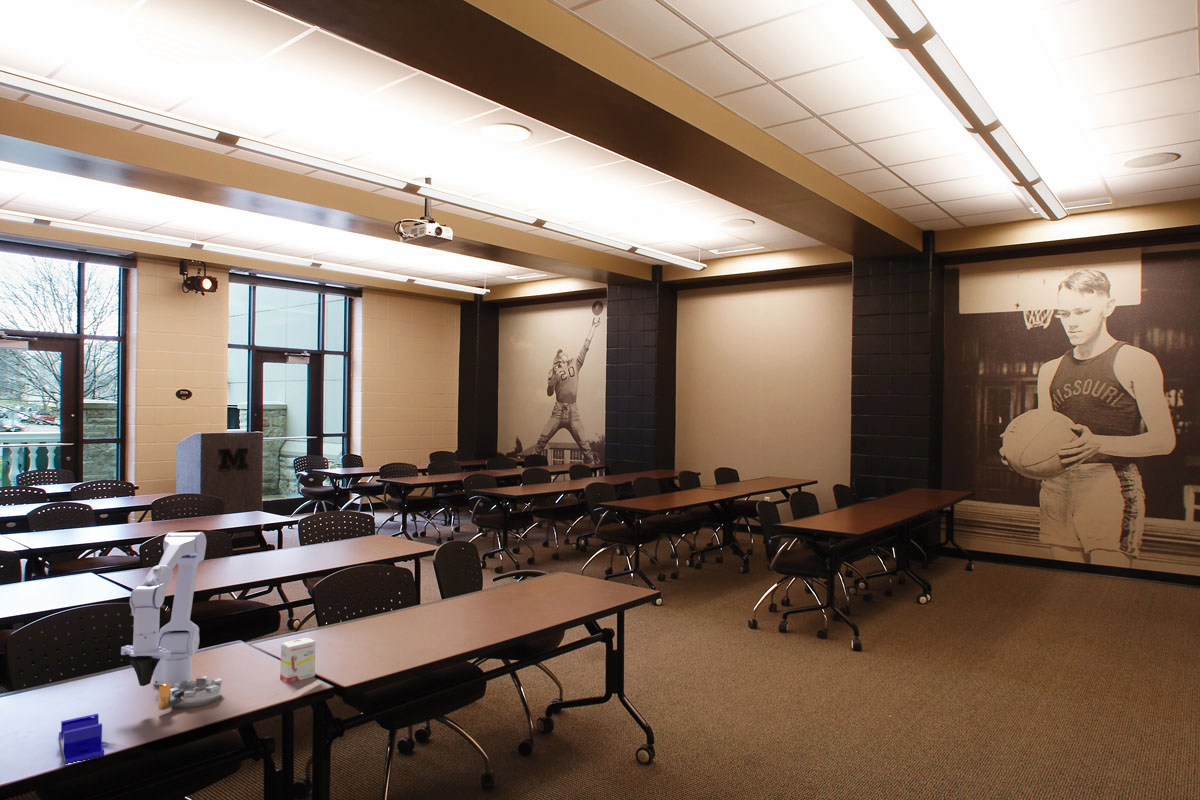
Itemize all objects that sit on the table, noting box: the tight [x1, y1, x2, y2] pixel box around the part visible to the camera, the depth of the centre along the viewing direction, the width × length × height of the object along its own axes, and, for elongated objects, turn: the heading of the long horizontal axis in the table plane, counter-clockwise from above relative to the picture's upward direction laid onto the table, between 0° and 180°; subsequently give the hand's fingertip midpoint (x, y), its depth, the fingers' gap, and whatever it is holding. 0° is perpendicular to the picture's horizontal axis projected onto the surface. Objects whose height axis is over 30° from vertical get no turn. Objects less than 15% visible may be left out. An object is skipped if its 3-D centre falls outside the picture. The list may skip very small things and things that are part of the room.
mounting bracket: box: [58, 713, 105, 765], centre depth 169 cm, size 18×7×6 cm, turn 41°
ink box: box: [279, 637, 316, 684], centre depth 211 cm, size 9×5×12 cm, turn 137°
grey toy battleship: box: [157, 675, 223, 711], centre depth 192 cm, size 17×12×8 cm
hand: (144, 684), depth 187 cm, fingers closed
